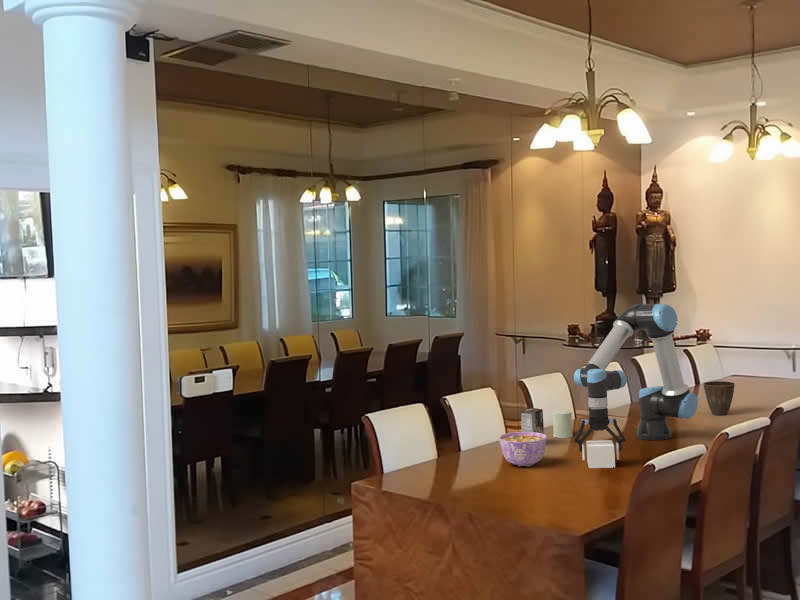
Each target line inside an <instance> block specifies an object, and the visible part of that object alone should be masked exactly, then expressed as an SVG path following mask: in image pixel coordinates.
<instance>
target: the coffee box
mask: <svg viewBox="0 0 800 600" xmlns="http://www.w3.org/2000/svg"><path fill="white" fill-rule="evenodd" d="M520 422H521V423H520V424H521V425H520V426H521V432H537V433H542V434H545V427H544V426H545V425H544V411H543V408H536V407H531V408H528V409H522V410H520Z"/></svg>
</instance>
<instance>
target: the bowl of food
mask: <svg viewBox="0 0 800 600" xmlns="http://www.w3.org/2000/svg"><path fill="white" fill-rule="evenodd" d="M547 439H548V436H547V435H546V434H545V433H544V434H542V433H537V432H522V431H518V432H517V431H516V432H515V431H514V432H509V433H504V434H501V435H500V436H499V437H498V442H499V445H500V447H501V452H502V455H503V457H504V458H505V460H506V461H507V462H508V463H510V464H512V465H514V464H515V465H518V466H517V467H520V466H527V467H532V466H534V465H535V464H536V463H538V462H540V461H542V459H543V457H544V454H545V449H546V445H547ZM515 465H514V466H515ZM531 465H532V466H531Z"/></svg>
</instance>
